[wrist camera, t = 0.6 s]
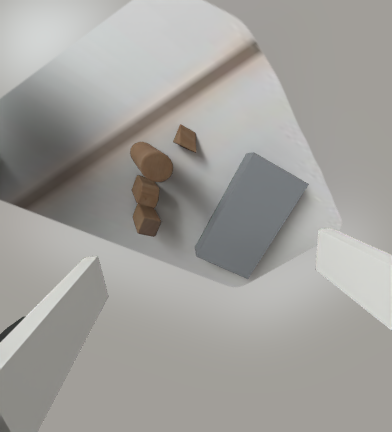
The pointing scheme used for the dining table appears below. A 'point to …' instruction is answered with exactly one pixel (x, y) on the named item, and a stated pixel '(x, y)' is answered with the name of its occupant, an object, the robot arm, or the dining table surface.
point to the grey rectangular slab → (249, 215)
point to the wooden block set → (154, 179)
